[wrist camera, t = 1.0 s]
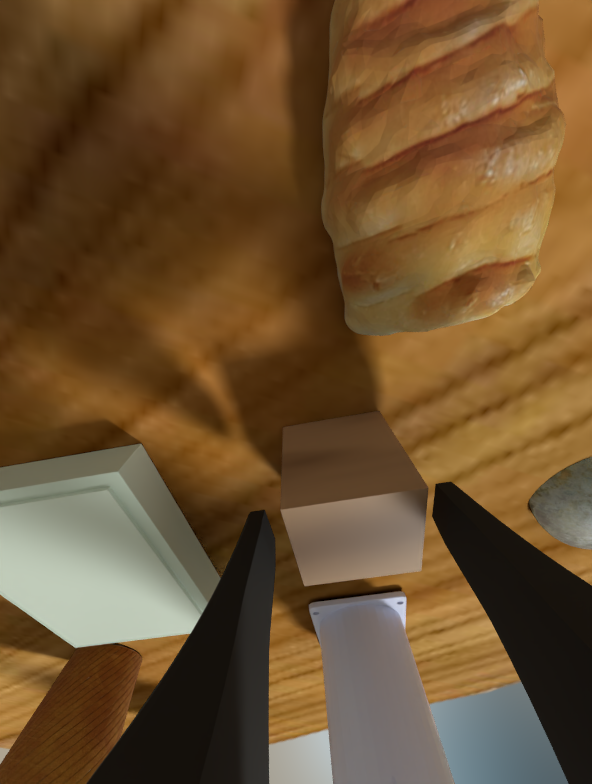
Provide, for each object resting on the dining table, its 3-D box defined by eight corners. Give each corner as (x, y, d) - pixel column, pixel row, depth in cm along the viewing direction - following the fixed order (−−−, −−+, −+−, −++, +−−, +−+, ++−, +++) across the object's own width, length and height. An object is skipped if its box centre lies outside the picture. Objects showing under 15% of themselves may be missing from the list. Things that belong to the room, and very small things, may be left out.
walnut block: (380, 479, 15) (421, 570, 10) (299, 492, 15) (304, 586, 11) (378, 409, 13) (428, 487, 8) (283, 426, 13) (280, 509, 8)
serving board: (231, 596, 20) (225, 632, 18) (93, 615, 21) (73, 651, 19) (141, 443, 13) (115, 474, 11) (-65, 478, 14) (-125, 514, 12)
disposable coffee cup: (34, 639, 22) (-196, 978, 12) (136, 630, 22) (-4, 967, 12) (86, 677, 27) (-49, 951, 16) (172, 670, 27) (94, 942, 16)
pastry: (267, 29, 7) (250, -203, 4) (517, -97, 6) (799, -542, 3) (345, 339, 11) (372, 371, 8) (501, 286, 10) (608, 295, 7)
